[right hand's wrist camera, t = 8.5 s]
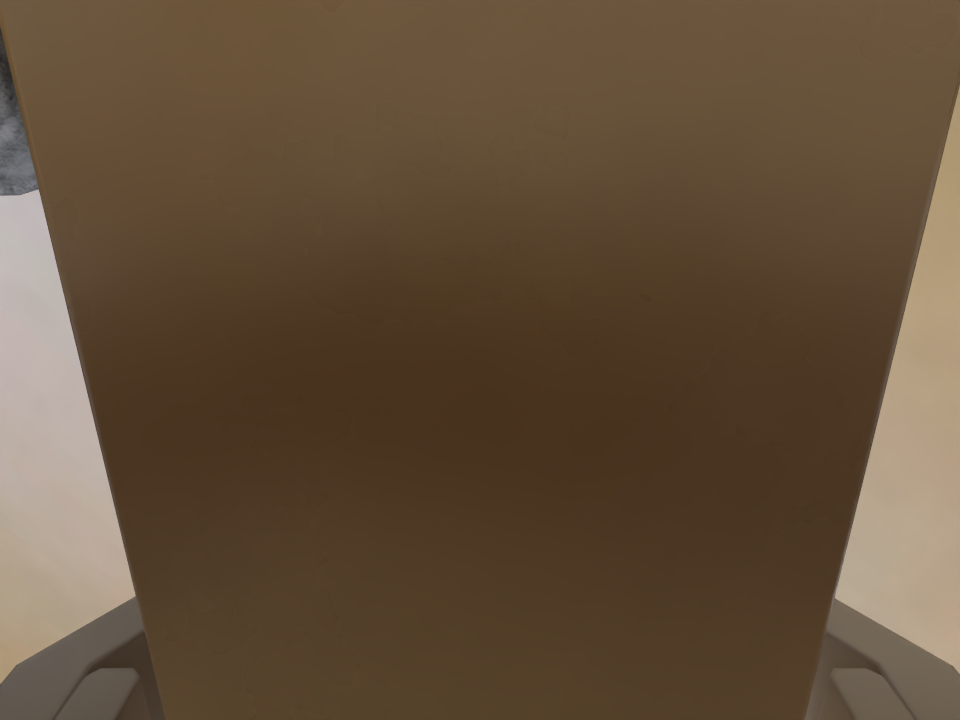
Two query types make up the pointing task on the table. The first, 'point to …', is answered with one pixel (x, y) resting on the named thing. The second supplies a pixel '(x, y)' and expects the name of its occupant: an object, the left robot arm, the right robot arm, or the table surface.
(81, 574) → the table surface
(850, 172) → the bar
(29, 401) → the table surface
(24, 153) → the dark grey piece
